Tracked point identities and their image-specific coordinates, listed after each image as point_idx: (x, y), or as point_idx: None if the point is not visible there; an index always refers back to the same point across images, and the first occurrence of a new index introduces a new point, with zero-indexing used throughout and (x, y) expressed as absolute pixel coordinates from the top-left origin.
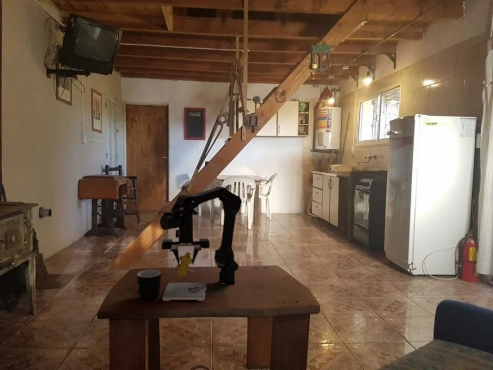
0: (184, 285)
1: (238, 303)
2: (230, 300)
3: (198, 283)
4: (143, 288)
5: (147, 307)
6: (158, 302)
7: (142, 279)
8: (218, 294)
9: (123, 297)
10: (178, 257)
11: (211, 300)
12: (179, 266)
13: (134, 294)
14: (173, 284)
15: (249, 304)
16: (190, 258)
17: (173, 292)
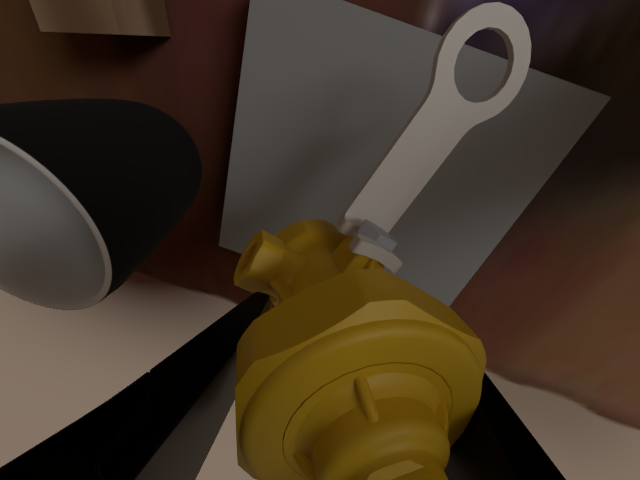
0: (381, 104)
1: (583, 358)
2: (575, 321)
3: (524, 91)
4: (81, 240)
5: (172, 246)
6: (214, 212)
7: (18, 277)
8: (578, 231)
9: (5, 70)
10: (195, 473)
11: (481, 286)
12: (273, 297)
13: (47, 34)
14: (294, 40)
15: (622, 382)
16: (441, 416)
17: (280, 214)
